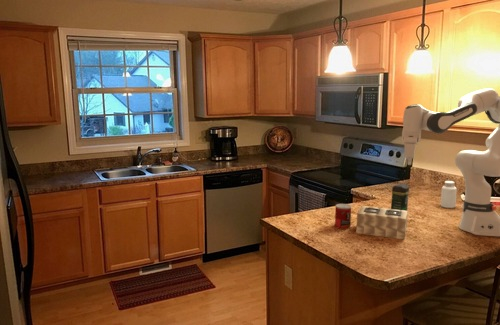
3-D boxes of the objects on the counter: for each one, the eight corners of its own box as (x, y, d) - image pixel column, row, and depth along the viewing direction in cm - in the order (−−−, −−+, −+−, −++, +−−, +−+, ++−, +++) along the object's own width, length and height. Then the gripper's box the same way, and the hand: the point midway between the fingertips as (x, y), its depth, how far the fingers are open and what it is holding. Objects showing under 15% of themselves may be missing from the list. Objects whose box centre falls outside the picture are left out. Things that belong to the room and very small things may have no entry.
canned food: (341, 230, 204) (342, 208, 202) (331, 225, 211) (332, 204, 209) (353, 227, 208) (354, 206, 206) (343, 223, 215) (344, 202, 213)
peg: (397, 231, 201) (398, 211, 199) (396, 234, 197) (397, 214, 195) (388, 230, 202) (389, 210, 201) (387, 232, 199) (388, 213, 197)
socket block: (406, 230, 204) (407, 209, 202) (404, 239, 191) (405, 218, 189) (360, 224, 212) (361, 205, 211) (356, 233, 200) (357, 212, 198)
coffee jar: (403, 221, 218) (405, 187, 214) (388, 218, 222) (390, 184, 219) (409, 216, 225) (411, 183, 222) (394, 214, 230) (396, 181, 227)
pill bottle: (440, 207, 242) (442, 182, 240) (440, 204, 249) (442, 179, 247) (455, 209, 239) (457, 183, 237) (454, 205, 247) (456, 180, 244)
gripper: (405, 135, 217) (404, 160, 219) (403, 139, 198) (401, 167, 201) (418, 135, 214) (416, 161, 217) (417, 139, 196) (415, 168, 198)
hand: (409, 164), depth 208 cm, fingers closed
